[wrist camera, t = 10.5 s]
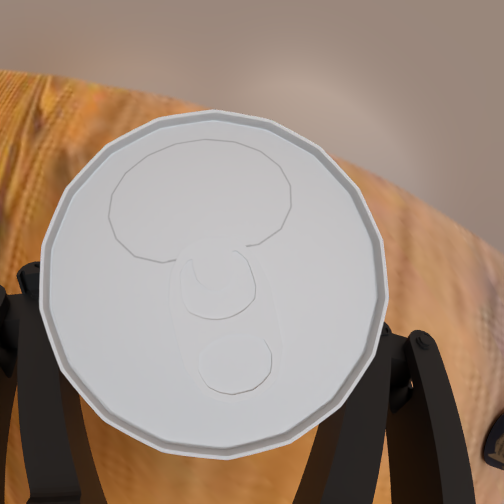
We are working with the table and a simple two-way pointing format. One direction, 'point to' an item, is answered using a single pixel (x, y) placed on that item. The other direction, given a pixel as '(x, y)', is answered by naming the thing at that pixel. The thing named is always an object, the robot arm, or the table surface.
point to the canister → (495, 445)
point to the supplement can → (213, 284)
